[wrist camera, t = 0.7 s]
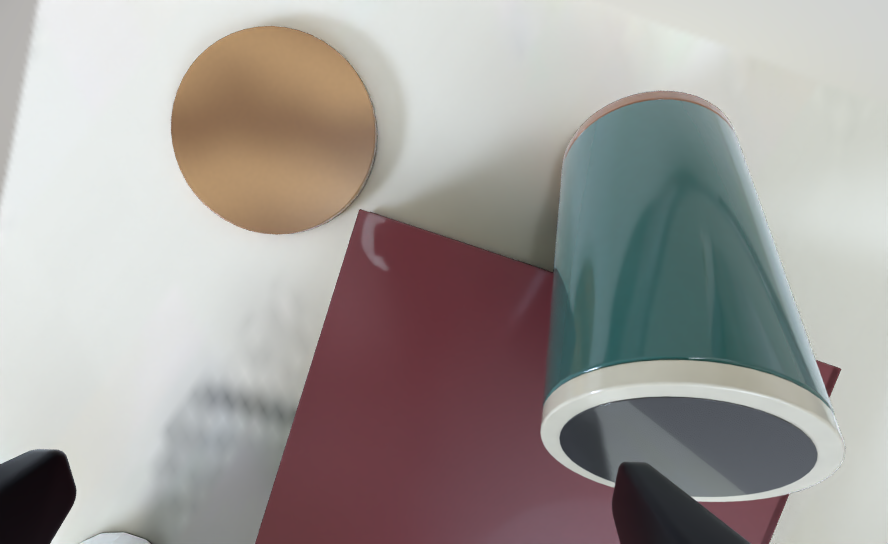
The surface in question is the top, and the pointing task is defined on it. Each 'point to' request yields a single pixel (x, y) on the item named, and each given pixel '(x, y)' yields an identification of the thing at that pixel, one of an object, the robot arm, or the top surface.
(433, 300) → the book
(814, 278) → the top surface
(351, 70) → the coaster
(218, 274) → the top surface
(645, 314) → the pencil cup
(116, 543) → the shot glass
